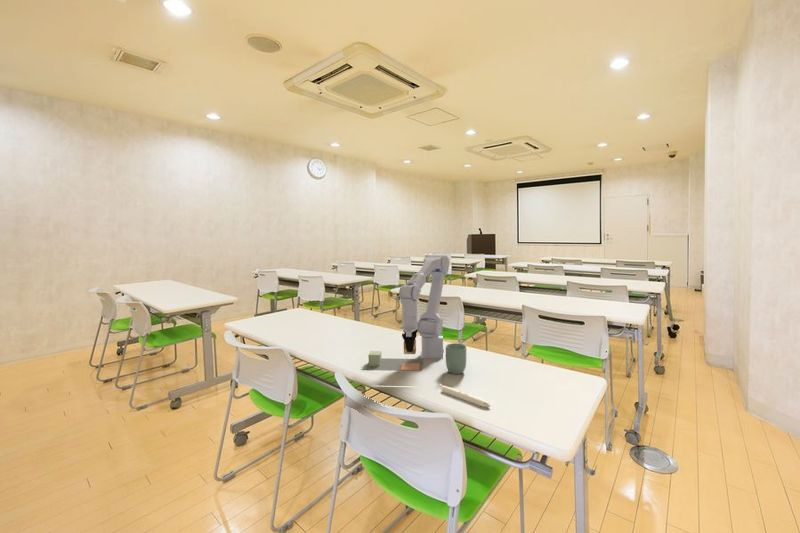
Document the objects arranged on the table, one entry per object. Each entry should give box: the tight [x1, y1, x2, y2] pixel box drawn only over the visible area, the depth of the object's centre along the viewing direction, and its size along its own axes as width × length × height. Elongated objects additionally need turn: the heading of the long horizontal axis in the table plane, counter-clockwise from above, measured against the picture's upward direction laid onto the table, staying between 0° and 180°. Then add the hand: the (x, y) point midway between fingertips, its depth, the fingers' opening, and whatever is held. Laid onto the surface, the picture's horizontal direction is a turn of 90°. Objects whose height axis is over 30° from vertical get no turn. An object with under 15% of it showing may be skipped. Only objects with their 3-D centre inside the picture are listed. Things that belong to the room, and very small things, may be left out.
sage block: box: [367, 350, 382, 366], centre depth 144 cm, size 4×4×4 cm
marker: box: [440, 385, 491, 409], centre depth 113 cm, size 18×2×2 cm, turn 45°
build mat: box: [364, 357, 424, 372], centre depth 144 cm, size 22×13×1 cm, turn 85°
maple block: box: [403, 338, 417, 355], centre depth 140 cm, size 4×4×4 cm
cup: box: [445, 342, 467, 375], centre depth 135 cm, size 8×8×10 cm
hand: (410, 349), depth 140 cm, fingers closed on maple block, 4 cm apart
